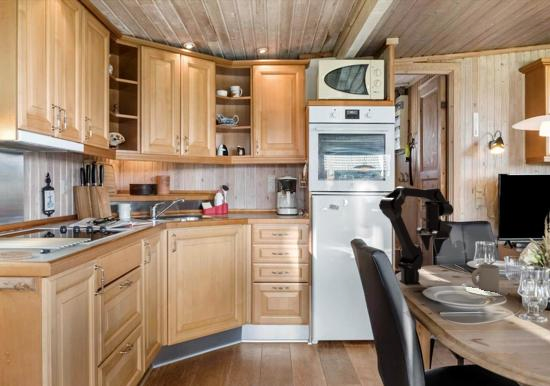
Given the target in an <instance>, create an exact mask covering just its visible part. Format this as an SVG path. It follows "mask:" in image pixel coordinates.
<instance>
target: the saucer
mask: <svg viewBox="0 0 550 386" xmlns="http://www.w3.org/2000/svg"><path fill="white" fill-rule="evenodd" d="M466 287H472V288H479V287H478V286H476V285H474V284H473V285H471V284H470V285H467V286H466ZM495 293H498V294H500V295H503V296H502V297H505V296H508V295H509V291H508V290H507V289H504V288H502V287H499V290H498V291H495Z"/></svg>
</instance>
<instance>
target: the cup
mask: <svg viewBox="0 0 550 386" xmlns="http://www.w3.org/2000/svg"><path fill="white" fill-rule="evenodd" d="M477 274H478V277H477ZM477 278H478V281H477ZM471 282H472V284H473V285H476V286H478V287H479V289H481V290H484V291H490V292H495V291H498V290H499V288H500V266H499V265H496V264H491V263H481V264H480V263H479V264H478V268H476V269H474V270H473V271H472V274H471Z"/></svg>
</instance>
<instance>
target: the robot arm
mask: <svg viewBox="0 0 550 386" xmlns="http://www.w3.org/2000/svg"><path fill="white" fill-rule="evenodd" d="M408 197H409V198H419V199H420V200H422V201H424V203H422V205H421V207H424V208H425V213H424V214H425V218H423V222H425V226H422V227H417V228H416V234H417V236H418V237H419V239H420V241H421V242H422V245H423V247H424V248H425V250H426V251H429V250H430V244H431V243H430V242H431V240H432V243H433V247H434V250H435V253H436V254H437V255H439V254H440V252H441V249H442V248H443V247H442V246H443V244H444V242H446V240H448V239H450V237H451V235H450V234H451V233H452V230H453V226H452V225H450V224H449V225H448V223H445V222H444V221H443V220H442V218H441V219H440V217H447V216H448V217H449V216H451V215H453V213H454V207H453V205H452V204H451V203H450V200H446V199H445V196H444V194H443V193H442V190H441V189H440V188H438V187H437V188H435V187H434V188H431V187H430V188H413V187H407V186H396V187H395V188H394V189H393V190H392V191H391V192H389V193H388V194H386V195H385V196H384V197H383V198H381V200H380V202H379V204H378V205H379V206H378V207H379V210H380V211H381V212H382V214H383V215H384V216H385V217H386V218H388V220H389V222H390V223H391V225H392V228H393V230H394V233H395V235H396V237H397V240H398V242H399V244H400V247H401V250H400V251H401V252H400V255H401V257H400V258H399V260H398V261H397V262H396V263H397V267H398V268H400V279H399V280H398V281H399V282H400V283H401V284H405V285H420V284H421V283H420V272H419V270H421V269H422V267H423V262H424V259H425V258H424V252H423V251H422V247H421V246H420V245H418V244H415V243H414V242H413V240H412V237H411V236H410V233H409V230H408V228H407V226H406V224H405V221H404V219H403V217H402V211H403V207H402V206H403V205H404V203H405V202H406V198H408Z"/></svg>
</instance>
